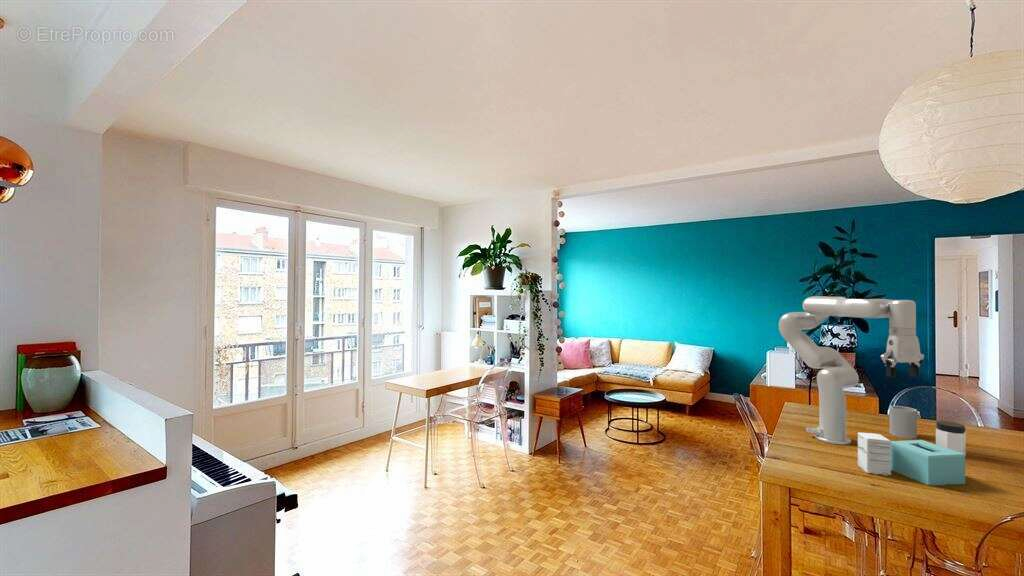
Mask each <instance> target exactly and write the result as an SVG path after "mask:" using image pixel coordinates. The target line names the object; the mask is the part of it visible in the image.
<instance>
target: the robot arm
mask: <svg viewBox="0 0 1024 576" xmlns="http://www.w3.org/2000/svg"><path fill="white" fill-rule="evenodd" d="M916 304H917V303H916V302H915V300H910V299H887V298H867V299H866V298H846V297H844V296H828V295H827V296H825V295H824V296H823V295H821V296H820V295H816V296H815V295H813V296H809V297H807V298H805V299H804V300H803V301H802V309H803V310H804V311H796V312H795V311H792V312H787V313H785V314H783V315H782V316H781V317H780V318H779V321H778V330H779V333H780V334H781V337H783V339H784V340H785V341H786V343H788V344H789V345H790V346H791V348H792V349H793V350H794V351H795V352H796V354H797V355H798V356H799V357H800V358H801V360H802V361H803V362H804V363H805V364H806V366H808V367H809V368H811V369H814V370H815V369H816V370H817V369H818V370H819V369H821V370H819V371H818V372H817V374H816V382H817V388H818V403H819V404H818V405H819V406H818V410H819V413H818V414H819V415H818V416H819V417H818V419H819V421H818V422H819V425H817V426H816V427H813V428H812V427H806V430H805V431H806V432H807V433H811V434H814V437H815V438H816V439H817V440H819V441H821V442H824V443H828V444H834V445H850V444H851V443H852V440H851V439H850V437H847V398H846V394H845V392H844V389H849V388H854V387H855V386H856V385H857V384H858V383H859V380H860V379H859V375H858V372H857V371H856V369H855V368H854V367H853V366H852V365H851V364H850V362H849V361H847V360H846V358H845V357H844V356H843V355H842V354H841V353H840V352H839V351H838V350H837V349H834V348H833V347H830V346H819V345H818V344H816V342H814V340H813V339H812V338H811V337H810V336H808V335H807V334H806V333H804V332H803V331H804V330H805V331H806V330H812V329H815V328H817V327H819V325H820V324H822V323H823V322H824V321H825V320H827V319H828V318H829V317H841V318H843V317H845V318H847V317H848V318H860V319H885V318H889V320H888V321H889V329H888V334H889V335H888V337H887V342H886V349H885V350H886V351H885V352H884V353H882V354H881V355H880V359H881V360H882V363H883V364H884V366H885V367H886V368H885V369H886V373H885V375H886V377H887V378H893V379H896V378H897V372H896V371H897V369H896V368H897V367H895V366H896V365H897V363H898V364H899V363H900V364H902V363H903V364H906V363H907V364H909V365H908V376H909V377H913V378H919V377H920V369H919V368H920V367H921V364H922V363H923V360H924V358H925V354H923V353H921V347H920V346H921V345H920V341H919V337H918V336H917V315H916V314H917V311H916V310H917V305H916Z"/></svg>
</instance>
